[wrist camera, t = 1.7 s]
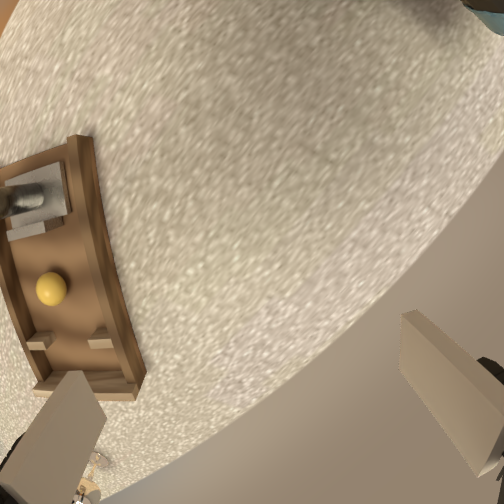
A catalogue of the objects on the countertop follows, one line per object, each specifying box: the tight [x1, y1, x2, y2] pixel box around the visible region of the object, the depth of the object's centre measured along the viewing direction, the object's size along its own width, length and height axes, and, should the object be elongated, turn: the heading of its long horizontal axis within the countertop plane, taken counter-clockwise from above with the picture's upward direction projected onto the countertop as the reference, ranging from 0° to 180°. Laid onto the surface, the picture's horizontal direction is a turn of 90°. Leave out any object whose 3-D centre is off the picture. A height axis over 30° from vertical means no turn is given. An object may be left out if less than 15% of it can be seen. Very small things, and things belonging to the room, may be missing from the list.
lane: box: [0, 134, 147, 401], centre depth 32 cm, size 30×16×6 cm, turn 8°
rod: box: [0, 162, 71, 242], centre depth 24 cm, size 7×9×14 cm
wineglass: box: [71, 452, 109, 504], centre depth 38 cm, size 6×6×12 cm
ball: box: [36, 272, 67, 306], centre depth 32 cm, size 4×4×4 cm
